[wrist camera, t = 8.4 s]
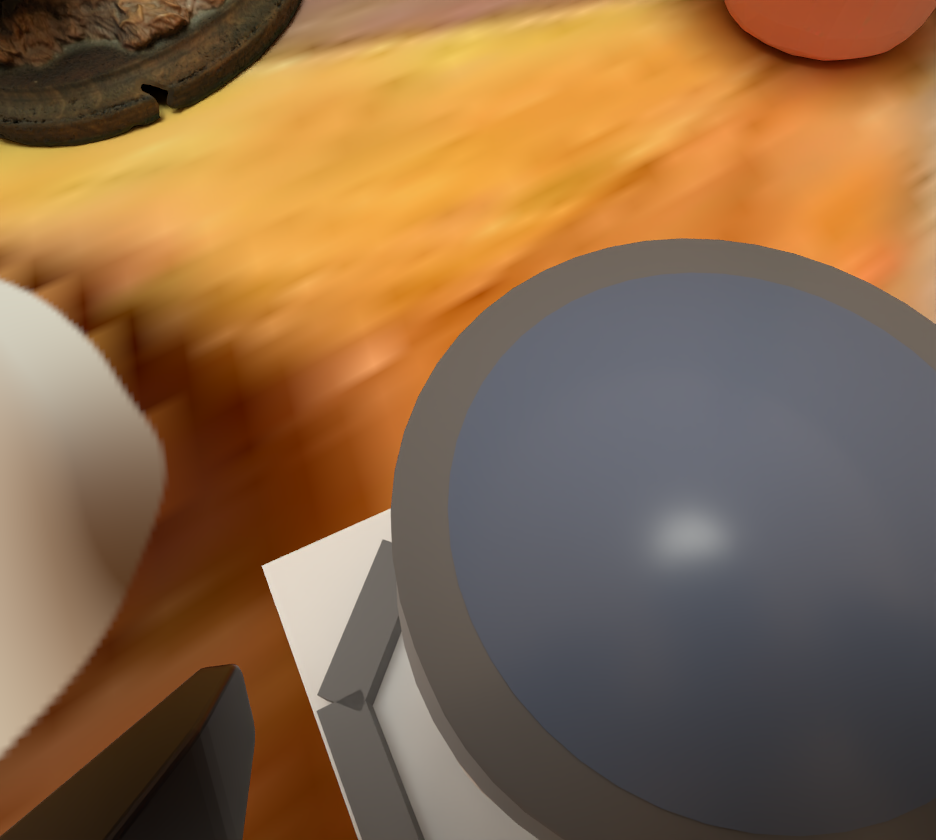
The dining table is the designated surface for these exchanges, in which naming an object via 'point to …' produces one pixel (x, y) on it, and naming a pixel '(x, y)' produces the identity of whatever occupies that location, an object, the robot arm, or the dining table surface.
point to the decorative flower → (831, 25)
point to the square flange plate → (374, 693)
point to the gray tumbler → (680, 549)
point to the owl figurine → (120, 60)
